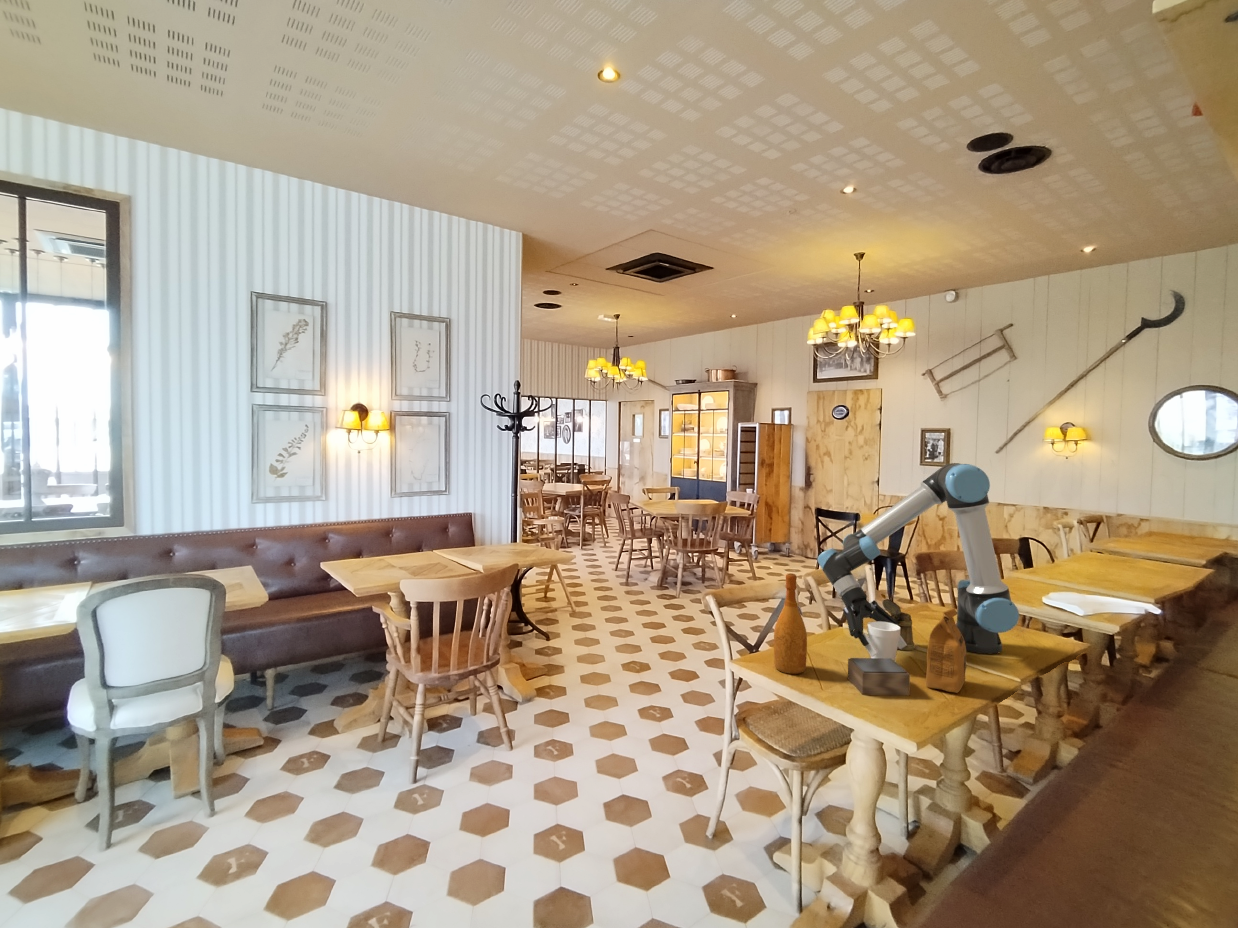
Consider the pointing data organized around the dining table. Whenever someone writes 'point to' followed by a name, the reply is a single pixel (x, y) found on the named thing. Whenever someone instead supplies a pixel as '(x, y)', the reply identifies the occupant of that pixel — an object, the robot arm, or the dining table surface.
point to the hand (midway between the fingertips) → (889, 650)
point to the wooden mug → (901, 623)
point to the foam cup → (884, 638)
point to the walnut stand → (878, 676)
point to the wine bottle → (790, 633)
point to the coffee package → (946, 655)
